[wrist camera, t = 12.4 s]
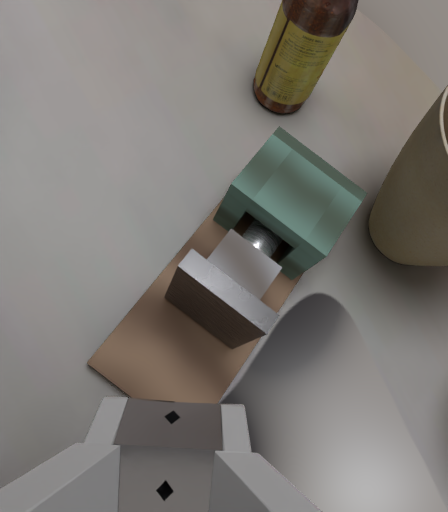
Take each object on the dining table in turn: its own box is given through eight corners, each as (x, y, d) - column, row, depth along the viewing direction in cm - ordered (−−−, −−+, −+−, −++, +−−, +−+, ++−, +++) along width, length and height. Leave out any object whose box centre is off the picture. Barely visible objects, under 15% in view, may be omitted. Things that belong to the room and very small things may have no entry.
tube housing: (188, 441, 34) (208, 453, 26) (88, 364, 34) (78, 354, 26) (325, 234, 43) (372, 196, 35) (246, 173, 43) (274, 122, 35)
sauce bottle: (314, 108, 47) (437, -76, 29) (267, 123, 45) (367, -65, 27) (286, 61, 49) (387, -144, 30) (239, 73, 47) (316, -138, 28)
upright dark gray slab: (232, 349, 35) (267, 334, 27) (164, 297, 35) (177, 265, 27) (312, 231, 40) (362, 188, 32) (253, 186, 40) (287, 131, 32)
